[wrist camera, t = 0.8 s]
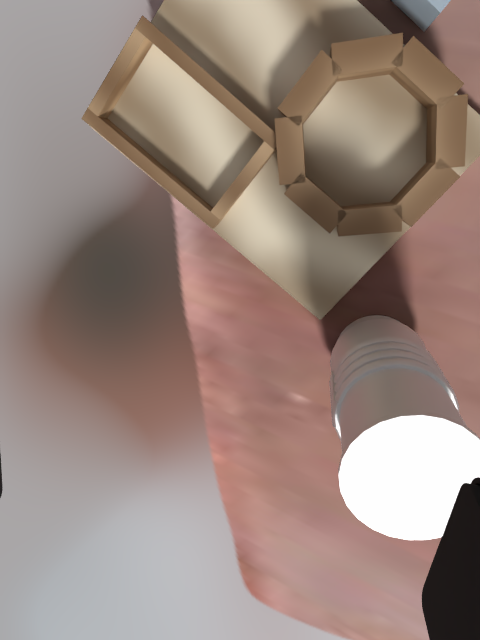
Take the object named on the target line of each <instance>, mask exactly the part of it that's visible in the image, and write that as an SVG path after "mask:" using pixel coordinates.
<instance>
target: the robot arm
mask: <svg viewBox="0 0 480 640" xmlns="http://www.w3.org/2000/svg"><path fill="white" fill-rule="evenodd" d="M1 494H2V473H1V456H0V497H1ZM422 607H423V613H424V617H425V621H426V625H427V630H428V634H429V638H430V640H480V477H477V478H474V479H473V480H472V482H471V484H470V483H463V484H462V485H461V487H460V490H459V492H458V495H457V498H456V500H455V503H454V506H453V508H452V511H451V514H450V517H449V519H448V522H447V525H446V527H445V530H444V533H443V535H442V538H441V541H440V544H439V546H438V549H437V552H436V554H435V557H434V560H433V562H432V565H431V568H430V570H429V573H428V576H427V579H426V581H425V584H424V587H423V592H422Z"/></svg>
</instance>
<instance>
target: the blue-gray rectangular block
mask: <svg viewBox="0 0 480 640" xmlns="http://www.w3.org/2000/svg"><path fill="white" fill-rule="evenodd" d="M391 1H392V2H393V3H394V4H395V5H396V6H397V7H398V8H400V9H401V10H402V11H403V12H404V13H405V14H406V15H407V16H408V17H409V18H410V19H411V20H412V21H413V22H414V23H415V24H416V25H418V26H419V27H420V28H421V29H422V30H423V31H425V30H426V29H427V28H428V27H429V25H430V24H431V23H432V22H433V21H434V20H435V18H436V17H437V16H438V15H439V14H440V12H441V11H442V10H443V9H444V8H445V6H446V5H447V4H448V3H449V2H450V0H391Z"/></svg>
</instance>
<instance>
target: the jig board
mask: <svg viewBox="0 0 480 640" xmlns="http://www.w3.org/2000/svg"><path fill="white" fill-rule="evenodd" d="M463 84H464V83H463V82H462V81H461V80H460V79H459V78H458V77H457V76H456V75H455V74H453V73H452V72H451V71H450V70H449V69H448V68H447V67H446V66H445V65H444V64H443V63H442V62H441V61H440V60H439V59H438V58H436V57H435V56H434V55H433V54H432V53H431V52H430V51H429V50H428V49H427V48H426V47H425V46H424V45H423V44H422V43H421V42H419V41H418V40H417V39H416V38H415V37H414V36H413V37H412V38H411V39H410V40H409V42H408V43H407V44H406V45H404V44H403V33H397V34H393V33H391V32H390V31H389V30H388V29H387V28H386V27H385V26H384V25H383V24H382V23H381V22H380V21H379V20H378V19H376V18H375V17H374V16H373V15H372V14H371V13H370V12H369V11H368V10H367V9H366V8H365V7H364V6H363V5H362V4H360V3H359V2H358V1H357V0H164V1H163V3H162V5H161V6H160V8H159V10H158V11H157V13H156V15H155V16H154V18H153V20H152V21H151V22H150V21H148V20H147V19H146V18H145V17H144V16H142V17H141V19H140V20H139V22H138V24H137V25H136V27H135V29H134V30H133V32H132V34H131V35H130V37H129V39H128V41H127V42H126V44H125V46H124V47H123V49H122V51H121V53H120V54H119V56H118V58H117V59H116V61H115V63H114V64H113V66H112V68H111V69H110V71H109V73H108V75H107V76H106V78H105V80H104V81H103V83H102V85H101V87H100V88H99V90H98V92H97V93H96V95H95V97H94V98H93V100H92V102H91V104H90V105H89V107H88V108H87V110H86V112H85V114H84V115H83V117H82V119H83V120H84V121H85V122H86V123H87V124H89V126H90V127H91V128H93V129H94V130H95V131H96V132H97V133H99V134H100V135H101V136H102V137H103V138H104V139H106V140H107V141H108V142H109V143H110V144H112V145H113V146H114V147H115V148H116V149H118V150H119V151H120V152H121V153H122V154H124V155H125V156H126V157H127V158H128V159H129V160H131V161H132V162H133V163H134V164H135V165H137V166H138V167H139V168H140V169H141V170H142V171H144V172H145V173H146V174H147V175H149V176H150V177H151V178H152V179H153V180H154V181H156V182H157V183H158V184H159V185H160V186H161V187H163V188H164V189H165V190H167V192H169V193H170V194H171V195H172V196H173V197H175V198H176V199H177V200H178V201H179V202H180V203H182V204H183V205H184V206H185V207H186V208H188V209H189V210H190V211H191V212H192V213H194V214H195V215H196V216H197V217H198V218H199V219H201V220H202V221H203V222H204V223H205V224H207V225H208V226H209V227H210V228H211V229H213V230H214V231H215V232H216V233H217V234H218V235H220V236H221V237H222V238H223V239H224V240H226V241H227V242H228V243H229V244H230V245H232V246H233V247H234V248H235V249H236V250H237V251H239V252H240V253H241V254H242V255H243V256H245V257H246V258H247V259H248V260H249V261H251V262H252V263H253V264H254V265H255V266H256V267H258V268H259V269H260V270H261V271H262V272H264V273H265V274H266V275H267V276H268V277H270V278H271V279H272V280H273V281H274V282H275V283H277V284H278V285H279V286H280V287H281V288H283V289H284V290H285V291H286V292H287V293H289V294H290V295H291V296H292V297H293V298H294V299H296V300H297V301H298V302H299V303H300V304H302V305H303V306H304V307H305V308H306V309H308V310H309V311H310V312H311V313H312V314H313V315H315V316H316V317H317V318H318V319H319V320H321V319H322V318H323V317H324V316H325V315H326V314H327V313H328V312H329V311H330V310H331V308H332V307H333V306H334V305H335V304H336V303H337V302H338V301H339V300H340V299H341V298H342V297H343V296H344V295H345V294H346V293H347V292H348V291H349V290H350V289H351V288H352V287H353V286H354V285H355V284H356V283H357V282H358V281H359V280H360V279H361V278H362V276H363V275H364V274H365V273H366V272H367V271H368V270H369V269H370V268H371V267H372V266H373V265H374V264H375V263H376V262H377V261H378V260H379V259H380V258H381V257H382V256H383V255H384V254H385V253H386V252H387V251H388V250H389V249H390V248H391V247H392V246H393V244H394V243H395V242H396V241H397V240H398V239H399V238H400V237H401V236H402V235H403V234H404V233H405V232H406V231H407V230H408V229H409V228H410V227H412V226H413V225H414V224H415V223H416V222H417V221H418V220H419V219H420V218H421V216H422V215H423V214H424V213H425V212H426V211H427V210H428V209H429V208H430V207H431V206H432V205H433V204H434V203H435V202H436V201H437V200H438V199H439V198H440V197H441V196H442V195H443V194H444V193H445V192H446V191H447V190H448V189H449V188H450V187H451V186H452V185H453V183H454V182H455V181H456V180H457V179H458V178H459V177H460V175H461V174H462V173H463V172H464V171H465V170H466V169H467V168H468V167H469V166H470V165H471V164H472V163H473V162H474V161H475V160H476V159H477V158H478V157H479V156H480V115H479V114H478V113H477V112H476V111H475V110H474V109H473V108H471V107H470V106H469V105H468V94H463V95H458V94H457V93H456V92H457V91H458V90H459V89H460V88H461V87H462V86H463Z"/></svg>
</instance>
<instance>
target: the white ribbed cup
mask: <svg viewBox="0 0 480 640" xmlns="http://www.w3.org/2000/svg"><path fill="white" fill-rule="evenodd" d="M330 366H331V377H330V397H331V412H332V423H333V426H334V427H335V429H336V431H337V434H338V436H339V438H340V440H341V444H342V455H341V459H340V464H339V469H338V473H339V483H340V491H341V493H342V496H343V498H344V500H345V503H346V505H347V506H348V508H349V509H350V510H351V511H352V512H353V514H354V515H355V516H356V517H357V518H358V519H359V520H360V521H362V522H363V523H364V524H366V525H367V526H369V527H370V528H371V529H373V530H376V531H378V532H380V533H383V534H385V535H387V536H390V537H396V538H401V539H406V540H429V539H434V538H439V537H442V535H443V533H444V530H445V527H446V525H447V522H448V519H449V517H450V514H451V511H452V508H453V506H454V503H455V500H456V498H457V495H458V492H459V490H460V487H461V485H462V484H463V483H470V484H471V482H472V480H473V479H474V478H477V477H480V439H479V437H478V436H477V435H476V433H474V432H473V431H472V430H470V429H469V428H468V427H467V426H466V424H465V422H464V421H463V419H462V417H461V415H460V414H459V404H458V401H457V398H456V396H455V393H454V391H453V389H452V387H451V386H450V385H449V382H448V381H447V379H446V378H445V376H444V374H443V372H442V371H441V369H440V368H439V366H438V364H437V362H436V361H435V360H434V358H433V357H432V356H431V354H430V353H429V352H428V351H427V350H426V348H425V345H424V342H423V341H422V340H421V338H420V337H419V336H418V334H417V333H416V332H415V331H413V330H412V329H411V328H409V327H408V326H407V325H404V324H402V323H401V322H399V321H398V320H395V319H393V318H391V317H388V316H381V315H372V316H365V317H363V318H360V319H357V320H355V321H354V322H352V323H351V324H349V325H348V326H347V327H346V328H345V329H344V330H343V331H342V332H341V334H340V336H339V338H338V340H337V342H336V344H335V346H334V348H333V350H332V354H331V360H330Z"/></svg>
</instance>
